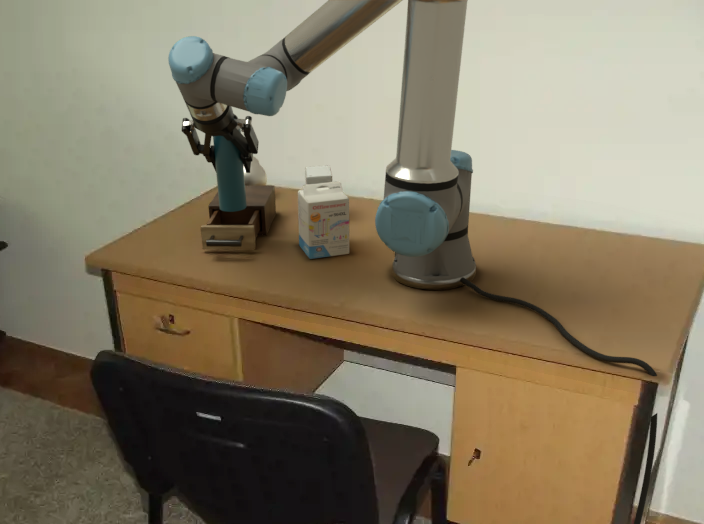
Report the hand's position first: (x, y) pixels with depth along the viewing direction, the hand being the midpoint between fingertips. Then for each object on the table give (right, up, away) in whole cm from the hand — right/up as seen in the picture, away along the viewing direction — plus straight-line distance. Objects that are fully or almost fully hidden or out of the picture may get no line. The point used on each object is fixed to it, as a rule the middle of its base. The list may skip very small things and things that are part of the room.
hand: (233, 167), depth 181 cm
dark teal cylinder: (0, -8, +1) cm, 8 cm away
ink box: (+19, -18, -2) cm, 26 cm away
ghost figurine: (+3, 0, +29) cm, 30 cm away
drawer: (0, -15, +2) cm, 15 cm away
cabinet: (+2, -9, +13) cm, 16 cm away
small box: (+19, -8, +14) cm, 25 cm away
